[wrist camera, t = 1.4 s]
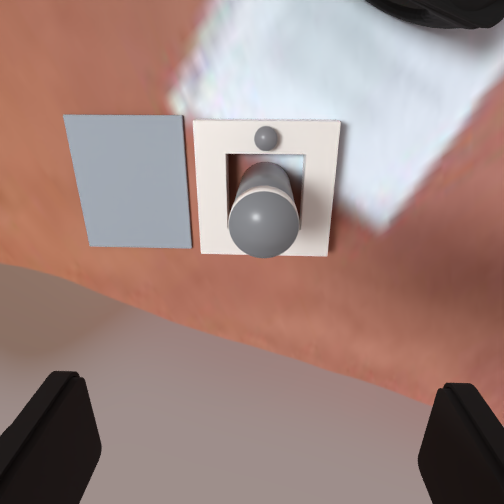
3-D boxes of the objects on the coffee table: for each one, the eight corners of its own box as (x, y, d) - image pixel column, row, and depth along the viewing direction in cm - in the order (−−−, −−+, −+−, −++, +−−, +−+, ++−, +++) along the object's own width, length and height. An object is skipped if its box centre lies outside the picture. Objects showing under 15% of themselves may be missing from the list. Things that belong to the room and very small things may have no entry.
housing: (336, 119, 29) (342, 122, 27) (324, 247, 34) (328, 260, 31) (197, 118, 30) (190, 121, 27) (204, 244, 34) (199, 257, 32)
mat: (182, 115, 30) (181, 115, 29) (192, 247, 35) (191, 248, 34) (64, 114, 30) (62, 114, 30) (91, 244, 35) (89, 246, 35)
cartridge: (292, 161, 31) (301, 191, 22) (289, 212, 33) (297, 259, 24) (239, 160, 31) (227, 190, 22) (239, 211, 33) (228, 258, 24)
